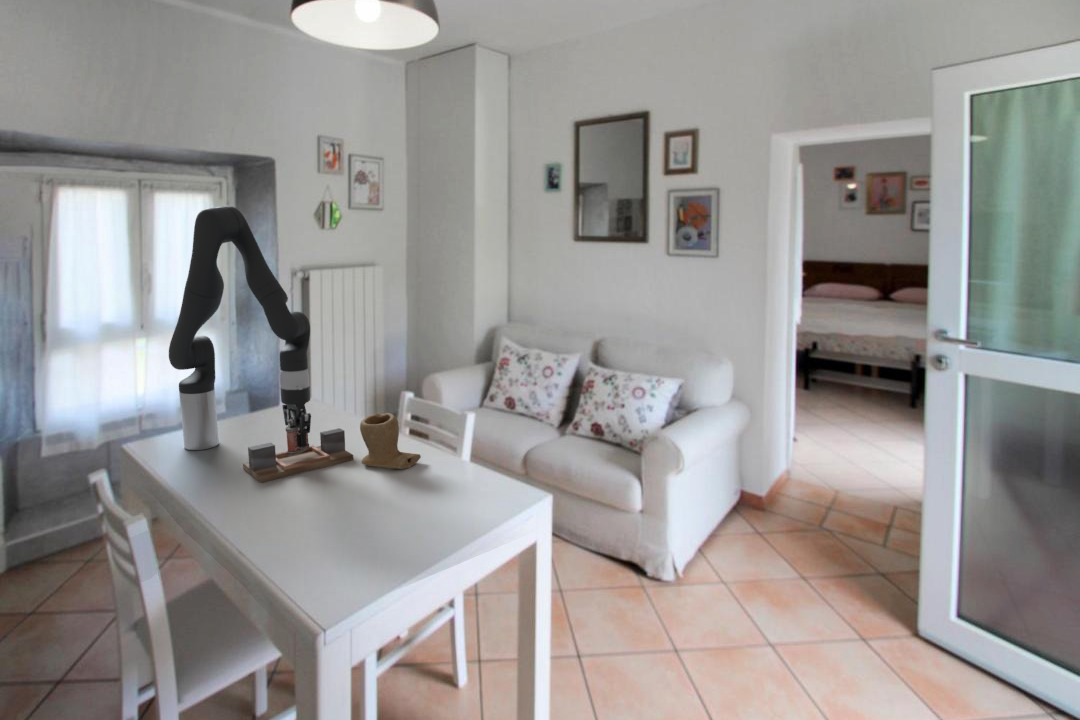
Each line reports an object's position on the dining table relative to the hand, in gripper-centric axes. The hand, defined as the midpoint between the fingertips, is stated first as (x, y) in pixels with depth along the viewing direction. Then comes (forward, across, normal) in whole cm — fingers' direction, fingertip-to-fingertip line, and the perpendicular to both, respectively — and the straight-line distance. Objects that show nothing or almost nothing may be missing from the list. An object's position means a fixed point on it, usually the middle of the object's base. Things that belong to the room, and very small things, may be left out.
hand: (298, 443), depth 173 cm
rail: (+6, 0, 0) cm, 6 cm away
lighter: (+2, 0, 0) cm, 2 cm away
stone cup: (+6, +17, +18) cm, 26 cm away
